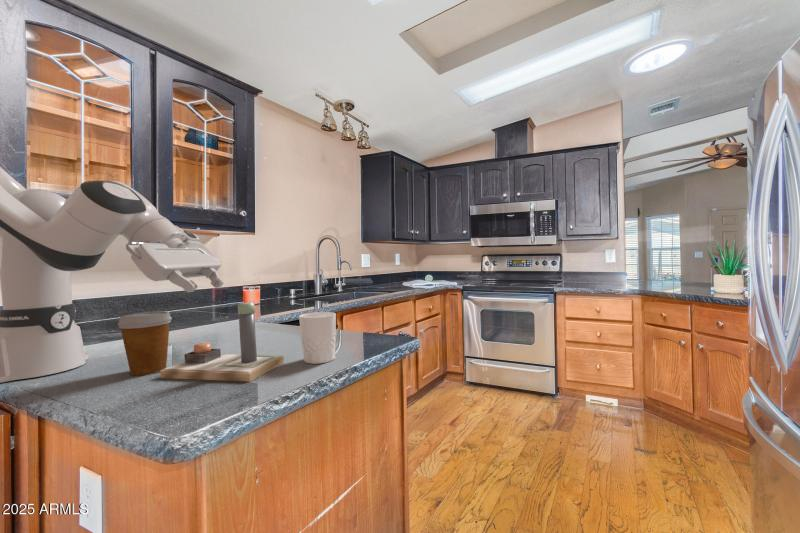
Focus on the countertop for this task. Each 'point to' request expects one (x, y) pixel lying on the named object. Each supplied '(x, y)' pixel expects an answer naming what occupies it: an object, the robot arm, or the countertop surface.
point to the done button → (202, 348)
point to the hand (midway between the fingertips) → (207, 287)
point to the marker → (247, 332)
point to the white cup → (318, 336)
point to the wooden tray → (221, 367)
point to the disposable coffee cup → (146, 341)
